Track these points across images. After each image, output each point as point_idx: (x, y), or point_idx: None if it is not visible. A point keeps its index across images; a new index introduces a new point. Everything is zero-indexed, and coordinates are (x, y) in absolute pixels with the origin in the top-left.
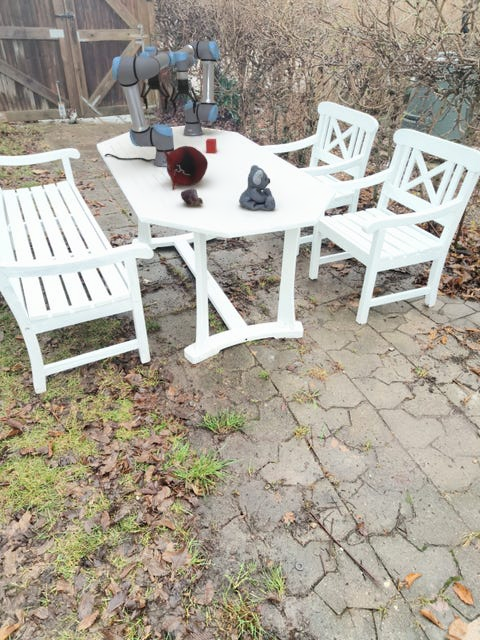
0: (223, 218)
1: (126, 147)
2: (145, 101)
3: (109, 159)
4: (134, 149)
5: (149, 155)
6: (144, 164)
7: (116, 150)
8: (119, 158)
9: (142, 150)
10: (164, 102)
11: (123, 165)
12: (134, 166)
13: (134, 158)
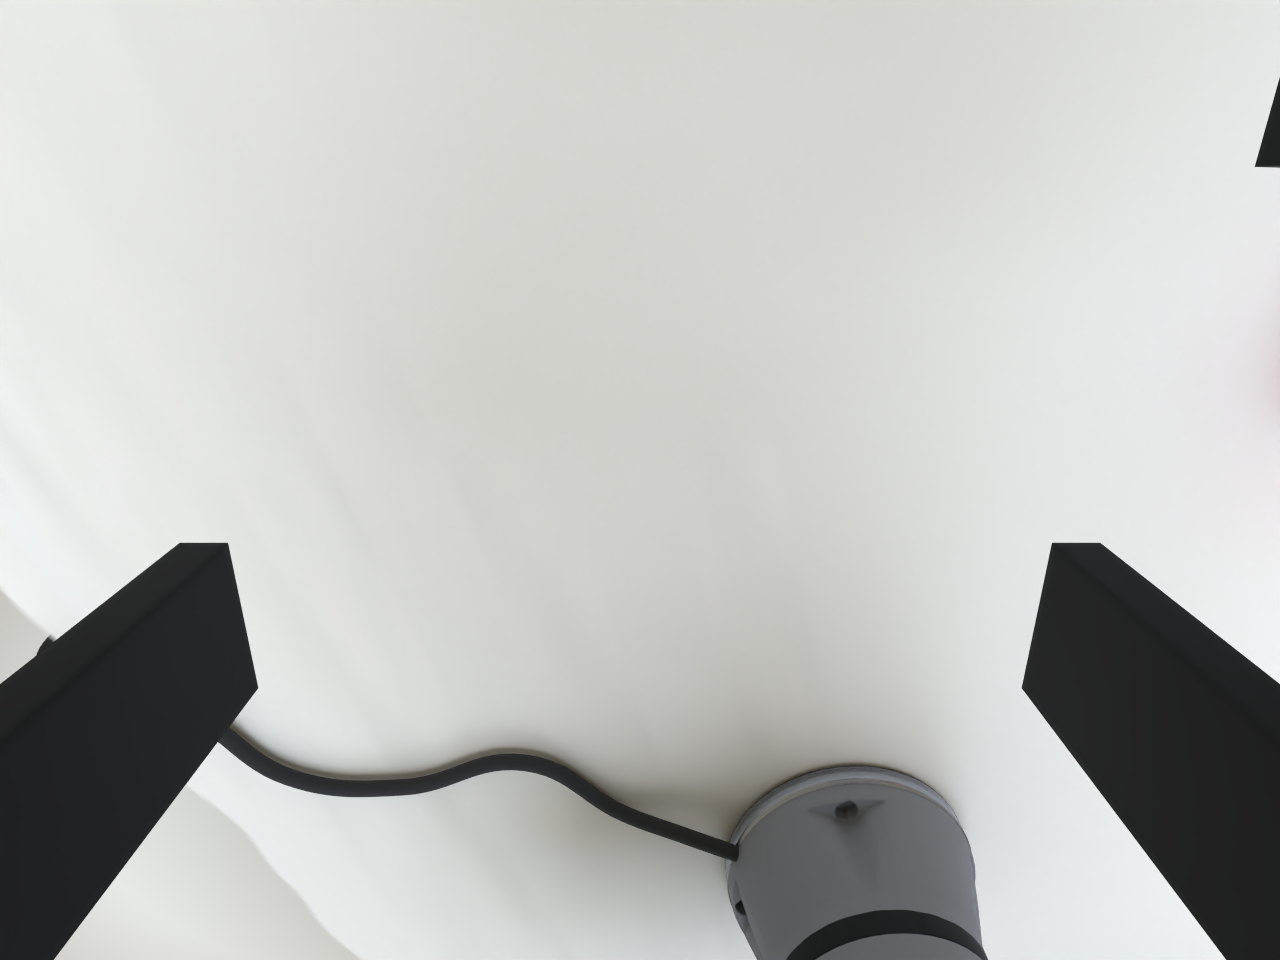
0: None
1: (51, 215)
2: (26, 947)
3: None
4: (238, 326)
5: (568, 598)
6: (626, 893)
7: (12, 404)
8: (290, 784)
9: (380, 372)
10: (1190, 910)
11: (434, 932)
12: (552, 948)
13: (460, 780)
